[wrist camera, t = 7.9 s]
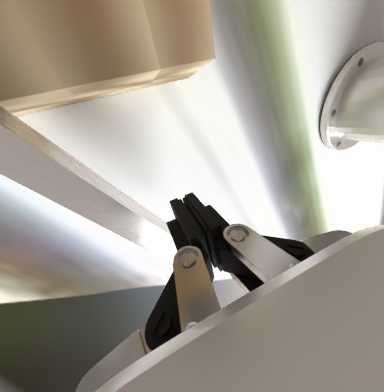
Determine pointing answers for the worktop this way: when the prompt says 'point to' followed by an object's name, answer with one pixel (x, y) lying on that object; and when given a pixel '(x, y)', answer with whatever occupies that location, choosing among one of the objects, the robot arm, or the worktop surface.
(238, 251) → the robot arm
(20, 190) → the worktop surface
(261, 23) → the worktop surface
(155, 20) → the socket block
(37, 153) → the silver rod
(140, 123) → the worktop surface
